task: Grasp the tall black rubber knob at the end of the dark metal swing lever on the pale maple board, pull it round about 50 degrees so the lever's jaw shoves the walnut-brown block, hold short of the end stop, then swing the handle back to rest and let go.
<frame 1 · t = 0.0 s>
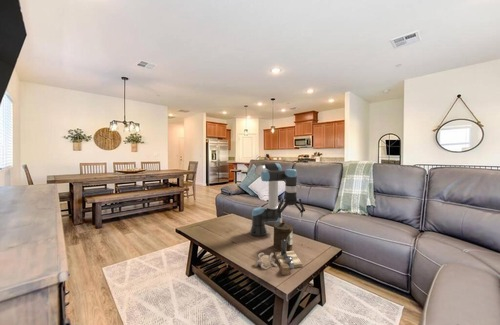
hand: (290, 221, 149), 28 cm above the table, fingers open, 13 cm apart
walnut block: (284, 272, 138), on the table
lever: (287, 252, 147), point 8 cm above the table, hinge at 0.0°
beige animal figurine: (267, 265, 146), on the table
board: (288, 260, 151), on the table
wooden container: (282, 247, 171), on the table
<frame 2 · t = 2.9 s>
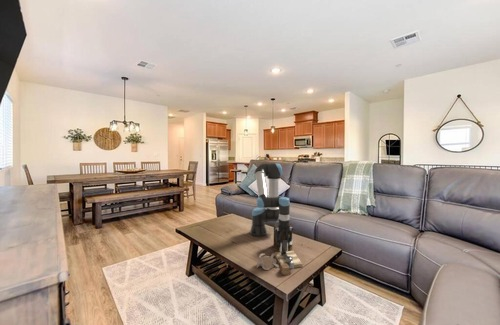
hand: (283, 250, 155), 5 cm above the table, fingers closed on lever, 4 cm apart
lever: (287, 252, 147), point 8 cm above the table, hinge at 0.0°, touching gripper
beige animal figurine: (268, 266, 145), on the table
everything else where it was.
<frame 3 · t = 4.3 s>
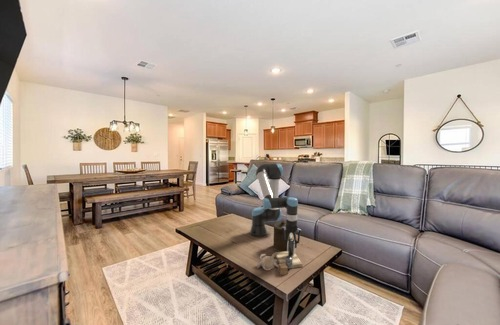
hand: (291, 251, 154), 5 cm above the table, fingers closed on lever, 4 cm apart
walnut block: (283, 272, 138), on the table
lever: (289, 252, 147), point 8 cm above the table, hinge at -25.1°, touching gripper
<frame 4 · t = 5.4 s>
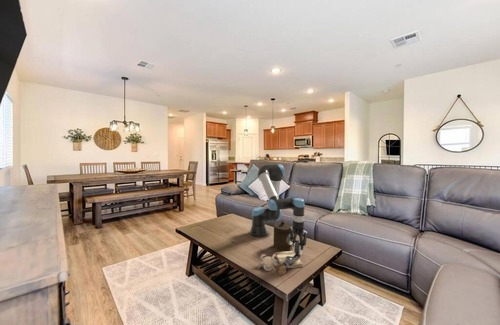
hand: (297, 252, 152), 5 cm above the table, fingers closed on lever, 4 cm apart
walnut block: (281, 272, 138), on the table
lever: (292, 253, 146), point 8 cm above the table, hinge at -48.6°, touching gripper
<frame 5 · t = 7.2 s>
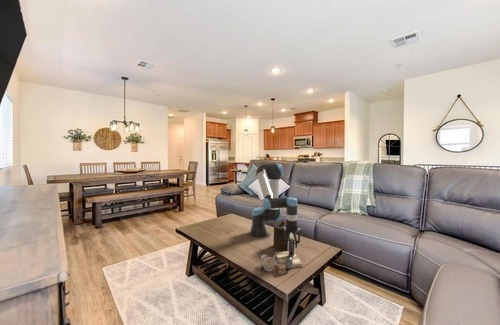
hand: (291, 251, 154), 5 cm above the table, fingers closed on lever, 4 cm apart
lever: (290, 252, 147), point 8 cm above the table, hinge at -26.9°, touching gripper
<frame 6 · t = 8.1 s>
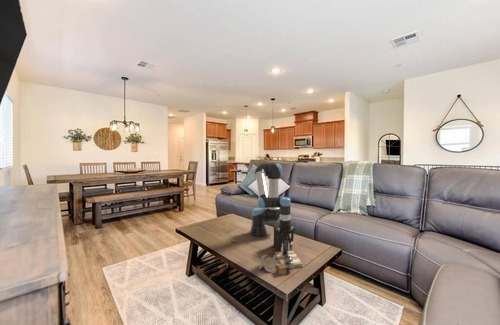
hand: (285, 251, 155), 5 cm above the table, fingers closed on lever, 4 cm apart
lever: (287, 252, 147), point 8 cm above the table, hinge at -4.9°, touching gripper
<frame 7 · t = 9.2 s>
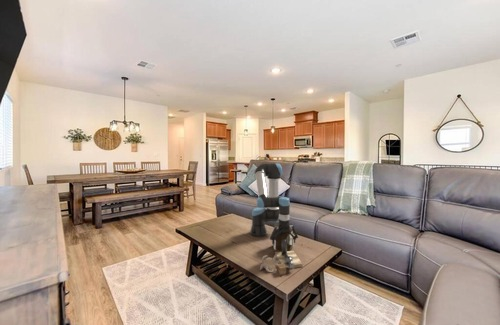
hand: (283, 248, 155), 7 cm above the table, fingers open, 13 cm apart
lever: (287, 252, 147), point 8 cm above the table, hinge at -1.8°
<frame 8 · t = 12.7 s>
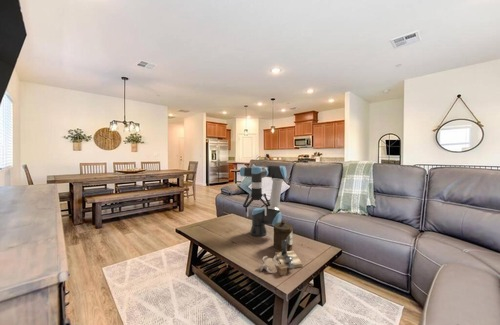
hand: (256, 215, 160), 29 cm above the table, fingers open, 13 cm apart
at the end: lever at -2° (first picture: +0°); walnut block moved 2.1 cm from its start; the gripper is holding nothing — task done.
